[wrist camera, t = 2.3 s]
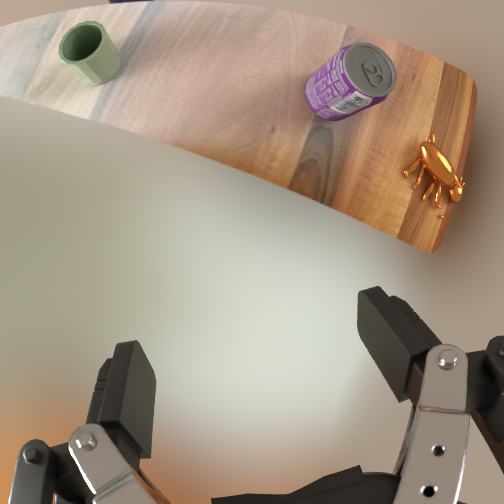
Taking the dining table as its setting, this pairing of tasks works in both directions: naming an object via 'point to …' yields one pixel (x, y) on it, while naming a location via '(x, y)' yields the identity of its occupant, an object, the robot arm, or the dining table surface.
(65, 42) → the cup
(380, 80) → the beverage can
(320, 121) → the dining table surface
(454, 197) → the figurine
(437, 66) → the dining table surface
